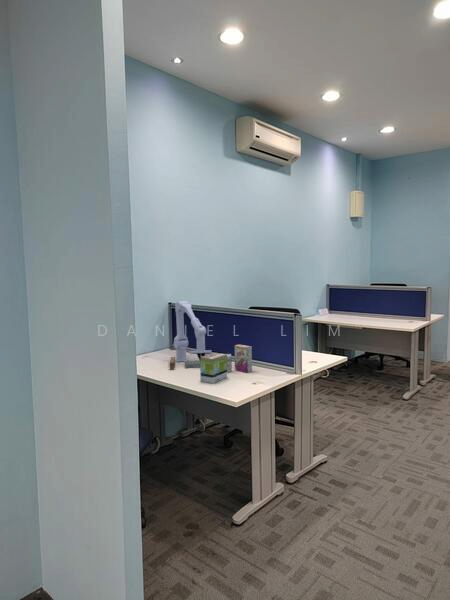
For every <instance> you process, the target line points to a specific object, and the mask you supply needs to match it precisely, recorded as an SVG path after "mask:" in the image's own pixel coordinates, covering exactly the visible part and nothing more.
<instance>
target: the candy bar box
mask: <svg viewBox="0 0 450 600" xmlns="http://www.w3.org/2000/svg"><path fill="white" fill-rule="evenodd" d="M252 351H253V349H252V346H249V345H244V344H235V345H234V370H235V371H238V372H244V373H248V374H249V373H251V372H253V352H252Z"/></svg>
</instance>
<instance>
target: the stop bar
mask: <svg viewBox="0 0 450 600" xmlns="http://www.w3.org/2000/svg"><path fill="white" fill-rule="evenodd" d="M175 368H176V356H170V359H169V371H174V370H176V369H175Z"/></svg>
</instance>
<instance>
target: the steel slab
mask: <svg viewBox="0 0 450 600" xmlns="http://www.w3.org/2000/svg"><path fill="white" fill-rule="evenodd" d="M184 369H200V360H199V359H198V360H197V359H196V360H187V361H184Z"/></svg>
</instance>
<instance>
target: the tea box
mask: <svg viewBox="0 0 450 600" xmlns="http://www.w3.org/2000/svg"><path fill="white" fill-rule="evenodd" d="M227 354H228V353H218V352H212V354H210V353H208V354H205V356H203V357H200V368H199V369H200V372H199V373H200V382H202V383H203V382H204V383H209V384H215V383H217V382H219V381H222V380H224V379H226V378H227V379H228V372H227Z"/></svg>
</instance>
